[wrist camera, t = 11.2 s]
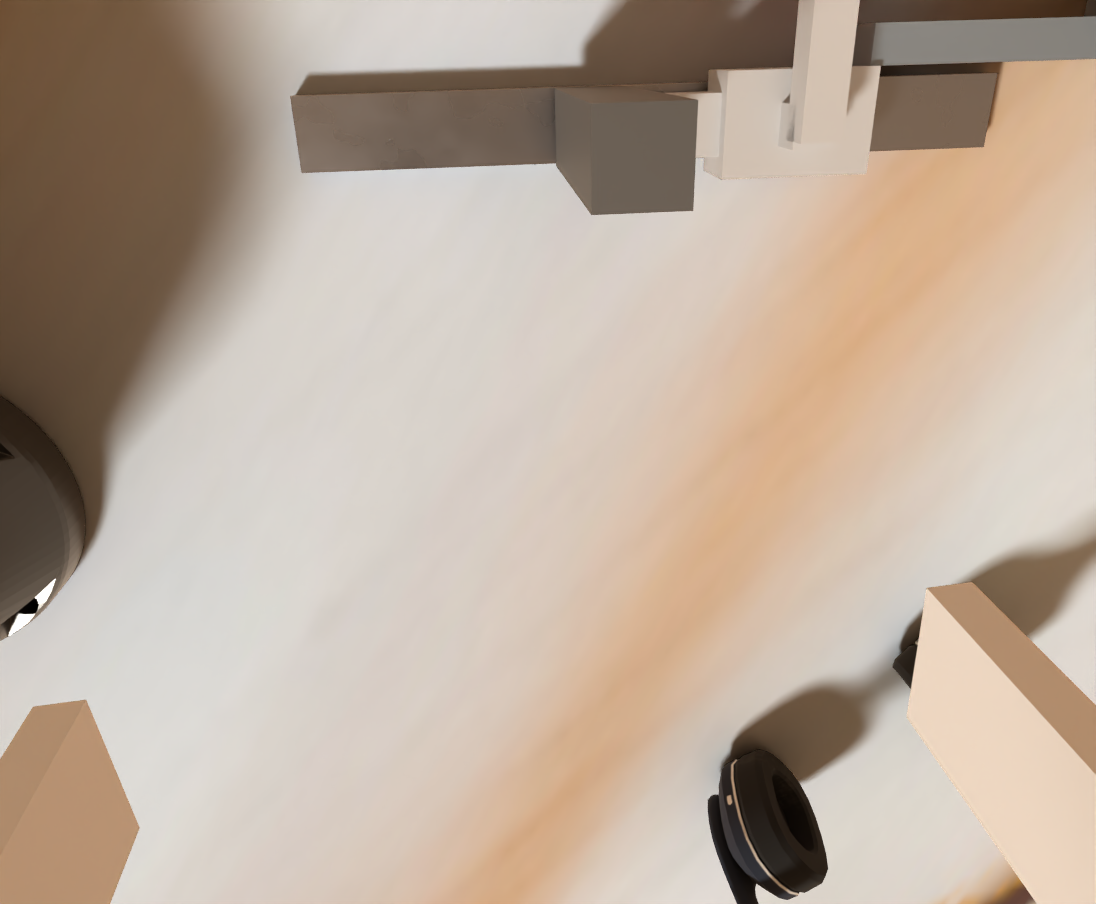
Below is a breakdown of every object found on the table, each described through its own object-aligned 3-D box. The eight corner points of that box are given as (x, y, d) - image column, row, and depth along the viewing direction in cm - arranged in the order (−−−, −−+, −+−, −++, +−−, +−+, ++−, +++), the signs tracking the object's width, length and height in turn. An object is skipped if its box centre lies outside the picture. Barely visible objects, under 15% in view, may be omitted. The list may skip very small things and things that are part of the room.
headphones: (739, 823, 56) (848, 1141, 40) (679, 770, 54) (769, 1087, 37) (999, 658, 52) (1245, 941, 35) (947, 591, 49) (1185, 863, 32)
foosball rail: (306, 170, 36) (301, 172, 35) (295, 95, 35) (290, 96, 34) (971, 144, 38) (983, 147, 37) (984, 72, 37) (997, 73, 36)
